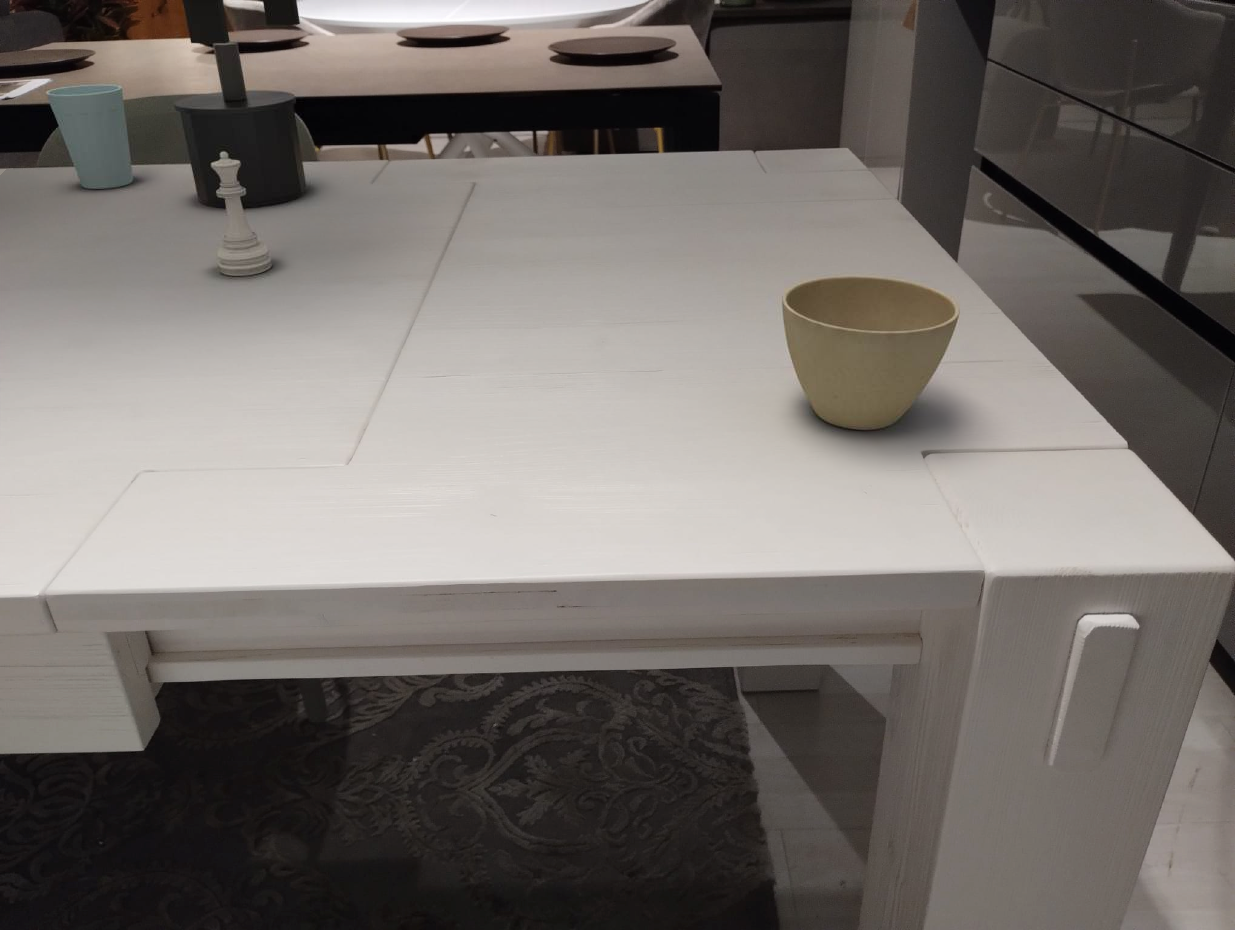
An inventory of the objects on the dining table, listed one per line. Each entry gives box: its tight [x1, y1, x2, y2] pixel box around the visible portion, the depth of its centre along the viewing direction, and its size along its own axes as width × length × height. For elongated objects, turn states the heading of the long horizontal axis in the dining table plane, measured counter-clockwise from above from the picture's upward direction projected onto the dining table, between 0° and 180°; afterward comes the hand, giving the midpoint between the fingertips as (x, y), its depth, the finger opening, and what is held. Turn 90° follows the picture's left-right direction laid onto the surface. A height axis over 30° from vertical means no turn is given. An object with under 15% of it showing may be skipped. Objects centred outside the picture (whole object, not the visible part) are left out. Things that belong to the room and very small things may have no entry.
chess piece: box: [211, 152, 273, 277], centre depth 86 cm, size 4×4×10 cm
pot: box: [179, 104, 307, 209], centre depth 110 cm, size 11×11×10 cm
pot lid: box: [173, 41, 297, 115], centre depth 106 cm, size 12×12×7 cm
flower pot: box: [781, 274, 961, 431], centre depth 60 cm, size 10×10×7 cm
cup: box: [45, 84, 134, 190], centre depth 115 cm, size 8×8×10 cm
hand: (249, 33), depth 82 cm, fingers open, 13 cm apart
